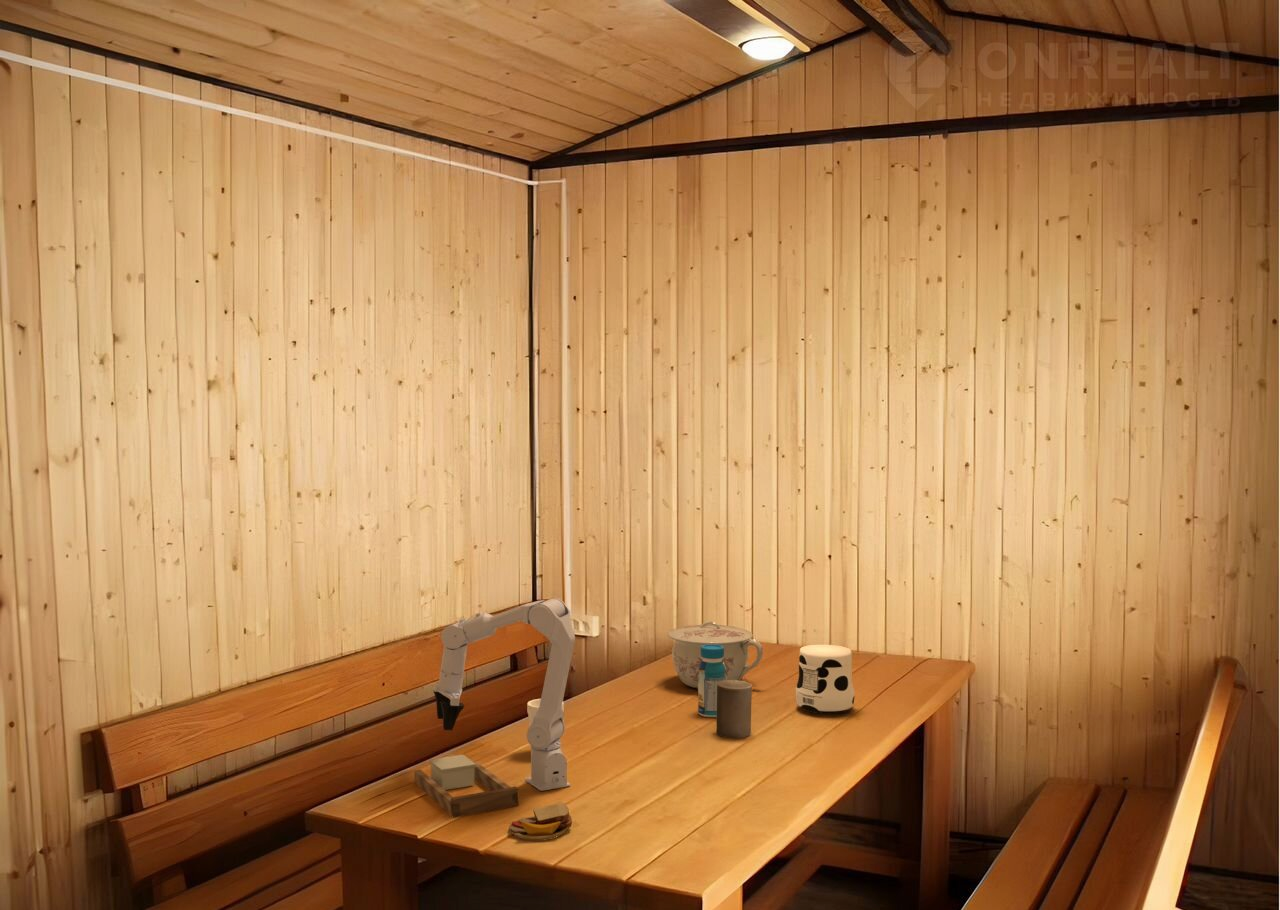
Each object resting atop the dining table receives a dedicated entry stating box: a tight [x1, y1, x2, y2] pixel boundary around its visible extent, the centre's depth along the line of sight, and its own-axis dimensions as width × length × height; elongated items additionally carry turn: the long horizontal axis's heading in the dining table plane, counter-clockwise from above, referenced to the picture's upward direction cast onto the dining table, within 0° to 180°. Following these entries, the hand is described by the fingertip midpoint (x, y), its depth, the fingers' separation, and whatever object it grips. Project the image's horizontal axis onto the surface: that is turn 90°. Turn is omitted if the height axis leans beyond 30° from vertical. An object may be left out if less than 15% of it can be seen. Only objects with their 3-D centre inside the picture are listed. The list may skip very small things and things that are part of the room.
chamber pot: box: [667, 620, 764, 690], centre depth 380 cm, size 28×28×21 cm
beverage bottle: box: [697, 644, 727, 718], centre depth 346 cm, size 8×8×20 cm
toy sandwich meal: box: [508, 802, 573, 841], centre depth 254 cm, size 12×14×5 cm
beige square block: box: [428, 754, 476, 791], centre depth 284 cm, size 9×9×5 cm
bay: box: [414, 760, 519, 818], centre depth 277 cm, size 26×16×4 cm, turn 29°
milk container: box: [795, 644, 856, 715], centre depth 351 cm, size 17×17×18 cm
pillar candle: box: [715, 680, 753, 739], centre depth 327 cm, size 10×10×15 cm
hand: (444, 724), depth 293 cm, fingers open, 7 cm apart
